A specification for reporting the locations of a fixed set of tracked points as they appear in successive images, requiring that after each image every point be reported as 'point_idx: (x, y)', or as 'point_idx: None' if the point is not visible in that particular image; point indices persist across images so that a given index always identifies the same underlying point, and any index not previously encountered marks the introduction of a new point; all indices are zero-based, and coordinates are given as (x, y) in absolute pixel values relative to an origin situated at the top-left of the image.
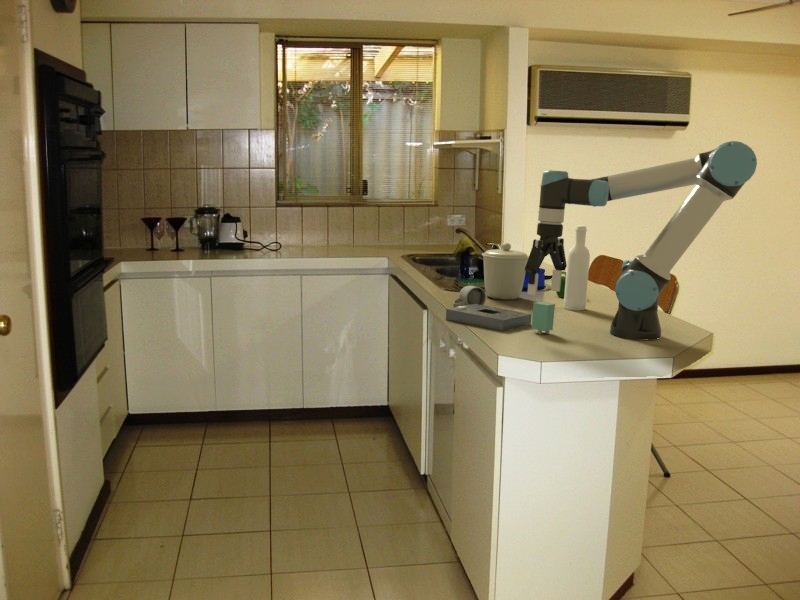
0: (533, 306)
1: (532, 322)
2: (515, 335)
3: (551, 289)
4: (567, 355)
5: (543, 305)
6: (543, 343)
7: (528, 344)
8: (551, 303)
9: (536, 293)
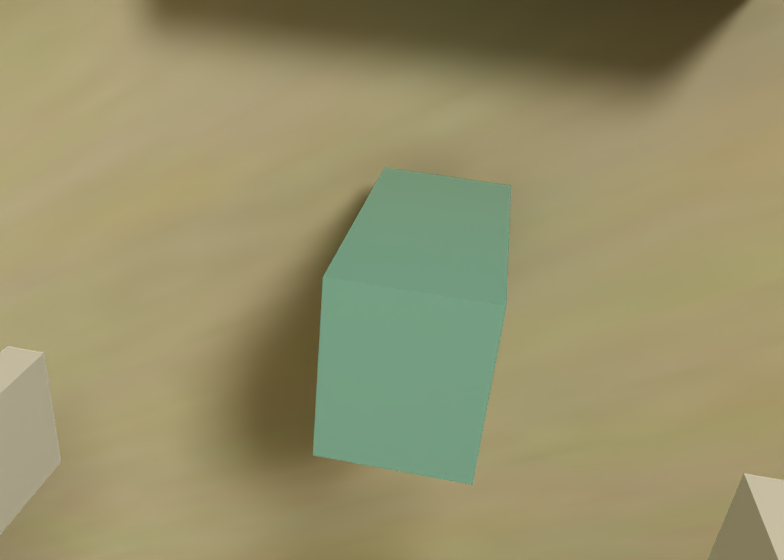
0: (336, 257)
1: (374, 190)
2: (172, 101)
3: (743, 493)
4: (4, 541)
5: (318, 399)
6: (128, 364)
7: (13, 302)
8: (475, 448)
9: (39, 481)
